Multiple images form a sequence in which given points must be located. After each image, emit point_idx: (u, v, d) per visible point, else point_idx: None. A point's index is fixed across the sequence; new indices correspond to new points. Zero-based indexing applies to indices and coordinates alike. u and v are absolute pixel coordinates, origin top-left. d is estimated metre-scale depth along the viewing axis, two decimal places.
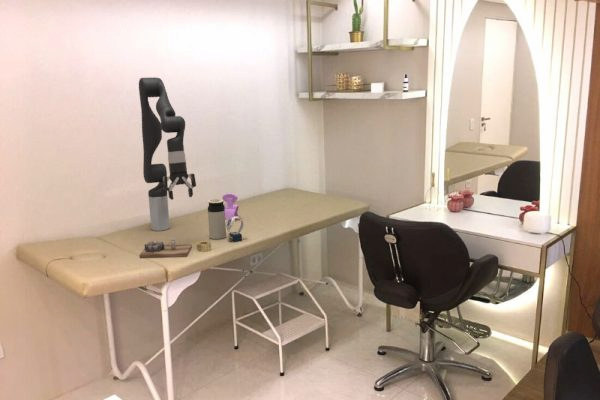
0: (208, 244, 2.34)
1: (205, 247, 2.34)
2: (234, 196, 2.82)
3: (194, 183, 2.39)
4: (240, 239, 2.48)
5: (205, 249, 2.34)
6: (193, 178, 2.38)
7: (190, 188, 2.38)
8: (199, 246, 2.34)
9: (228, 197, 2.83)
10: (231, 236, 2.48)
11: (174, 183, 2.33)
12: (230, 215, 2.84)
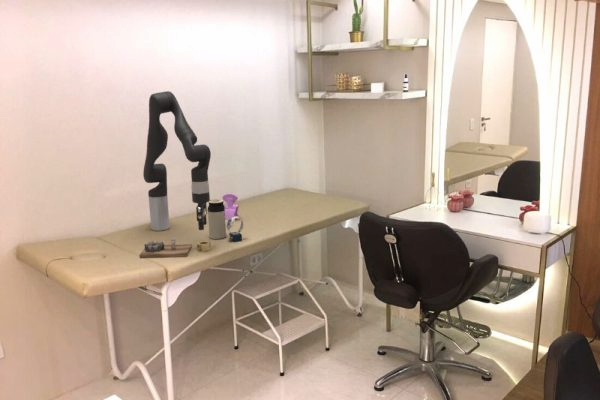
0: (208, 244, 2.34)
1: (205, 247, 2.34)
2: (234, 196, 2.82)
3: None
4: (240, 239, 2.48)
5: (205, 249, 2.34)
6: None
7: (205, 216, 2.38)
8: (199, 246, 2.34)
9: (228, 197, 2.83)
10: (231, 236, 2.48)
11: (204, 213, 2.30)
12: (230, 215, 2.84)
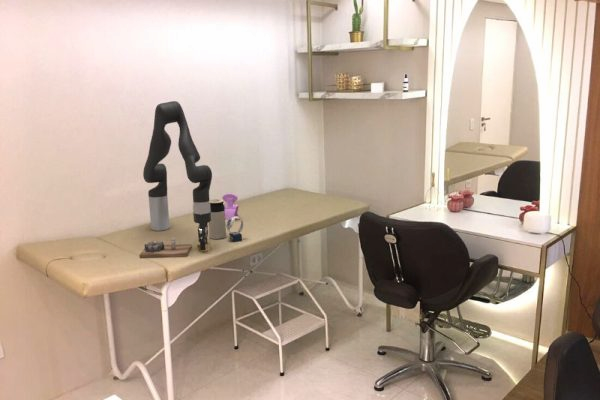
0: (208, 244, 2.34)
1: None
2: (234, 196, 2.82)
3: None
4: (240, 239, 2.48)
5: (205, 249, 2.34)
6: None
7: (206, 237, 2.39)
8: (199, 246, 2.34)
9: (228, 197, 2.83)
10: (231, 236, 2.48)
11: (206, 233, 2.33)
12: (230, 215, 2.84)
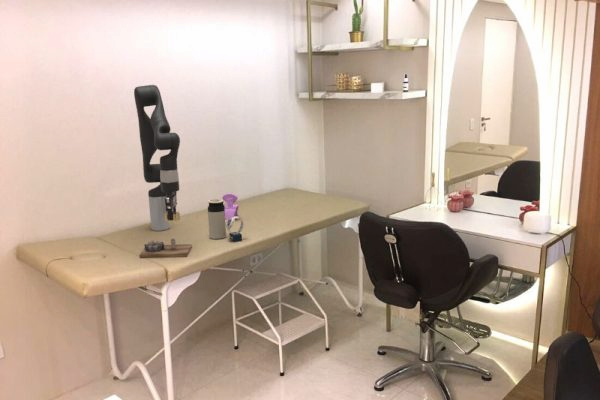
0: (176, 214, 2.28)
1: (173, 217, 2.28)
2: (234, 196, 2.82)
3: (176, 201, 2.35)
4: (240, 239, 2.48)
5: (173, 219, 2.28)
6: (176, 196, 2.34)
7: (174, 207, 2.33)
8: (167, 216, 2.28)
9: (228, 197, 2.83)
10: (231, 236, 2.48)
11: (174, 203, 2.26)
12: (230, 215, 2.84)
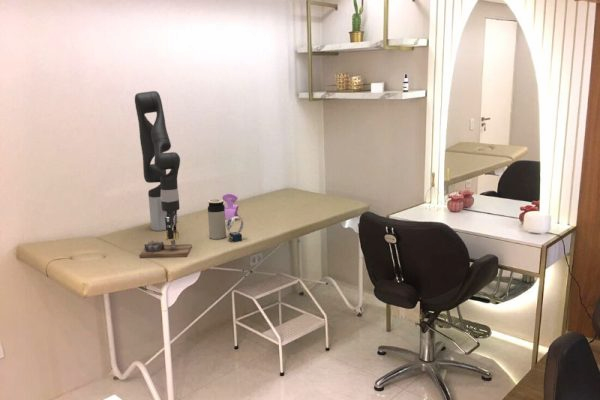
0: (176, 233, 2.29)
1: None
2: (234, 196, 2.82)
3: None
4: (240, 239, 2.48)
5: (173, 238, 2.29)
6: (176, 215, 2.36)
7: None
8: (167, 235, 2.29)
9: (228, 197, 2.83)
10: (231, 236, 2.48)
11: (174, 221, 2.28)
12: (230, 215, 2.84)
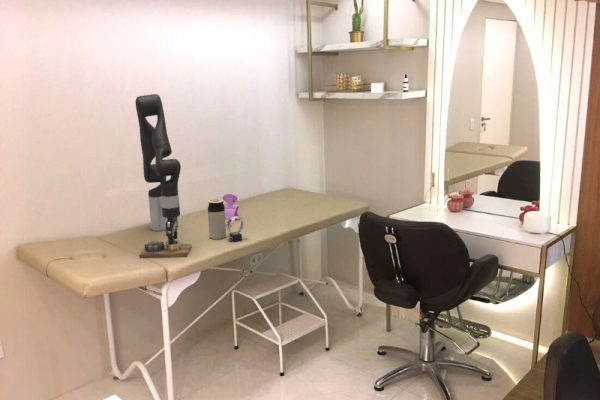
0: (177, 244, 2.31)
1: (174, 247, 2.30)
2: (234, 196, 2.82)
3: (177, 224, 2.37)
4: (240, 239, 2.48)
5: (174, 249, 2.31)
6: (177, 219, 2.37)
7: None
8: (168, 246, 2.30)
9: (228, 197, 2.83)
10: (231, 236, 2.48)
11: (174, 227, 2.28)
12: (230, 215, 2.84)
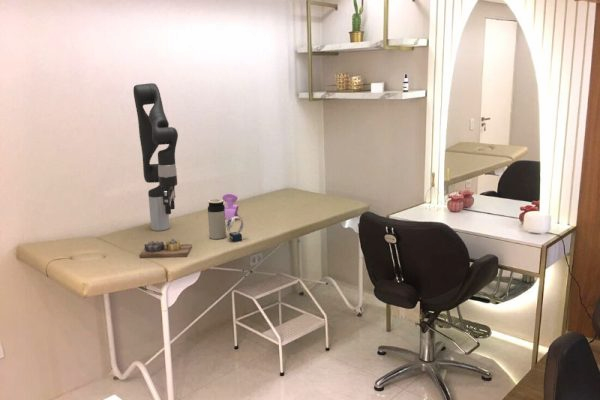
0: (177, 244, 2.31)
1: (174, 247, 2.30)
2: (234, 196, 2.82)
3: None
4: (240, 239, 2.48)
5: (174, 249, 2.31)
6: (174, 190, 2.34)
7: (173, 200, 2.34)
8: (168, 246, 2.30)
9: (228, 197, 2.83)
10: (231, 236, 2.48)
11: (171, 197, 2.26)
12: (230, 215, 2.84)
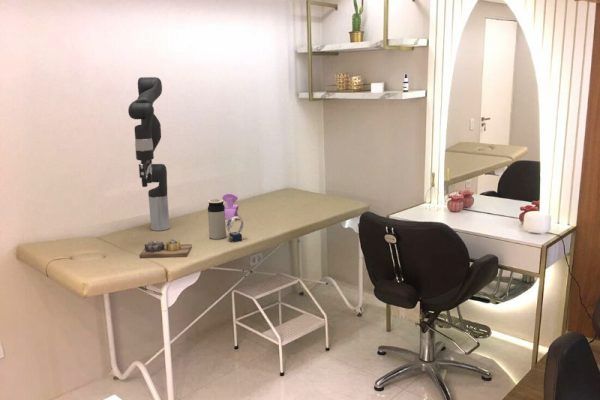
0: (177, 244, 2.31)
1: (174, 247, 2.30)
2: (234, 196, 2.82)
3: (152, 169, 2.44)
4: (240, 239, 2.48)
5: (174, 249, 2.31)
6: (151, 164, 2.43)
7: (150, 174, 2.42)
8: (168, 246, 2.30)
9: (228, 197, 2.83)
10: (231, 236, 2.48)
11: (148, 170, 2.34)
12: (230, 215, 2.84)
